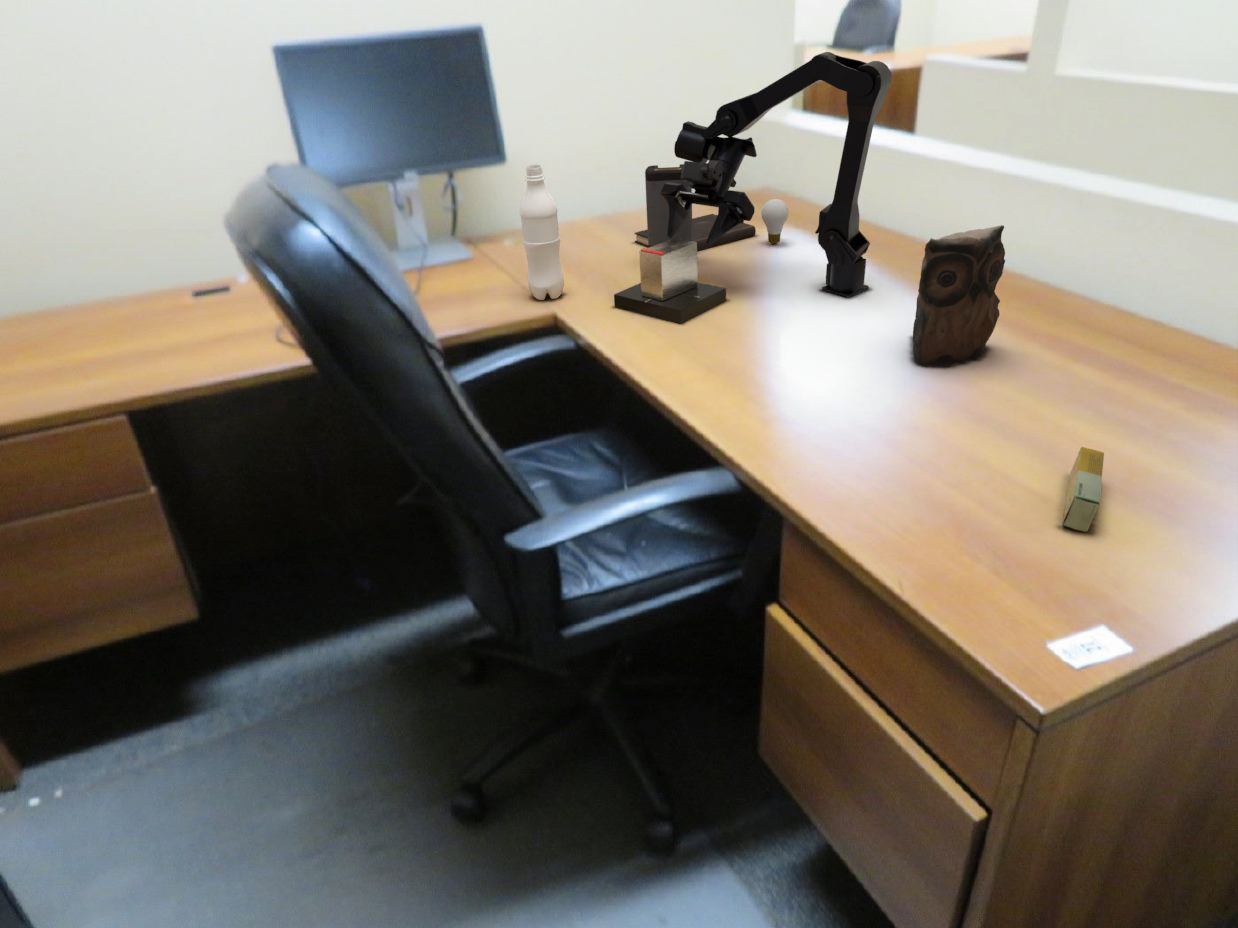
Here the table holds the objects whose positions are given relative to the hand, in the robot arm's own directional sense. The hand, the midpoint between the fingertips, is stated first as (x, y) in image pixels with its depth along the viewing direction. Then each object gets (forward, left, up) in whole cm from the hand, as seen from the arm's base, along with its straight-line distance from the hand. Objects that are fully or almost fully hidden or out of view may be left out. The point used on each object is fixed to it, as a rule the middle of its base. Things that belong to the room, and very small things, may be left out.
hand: (688, 240), depth 161 cm
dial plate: (-1, +6, -11) cm, 12 cm away
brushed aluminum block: (-1, +6, -8) cm, 10 cm away
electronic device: (+17, -11, -11) cm, 23 cm away
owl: (-50, -8, -11) cm, 52 cm away
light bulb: (+9, -35, -11) cm, 38 cm away
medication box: (-85, +20, -11) cm, 88 cm away
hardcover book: (+26, -27, -11) cm, 39 cm away
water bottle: (+21, +19, -11) cm, 30 cm away
